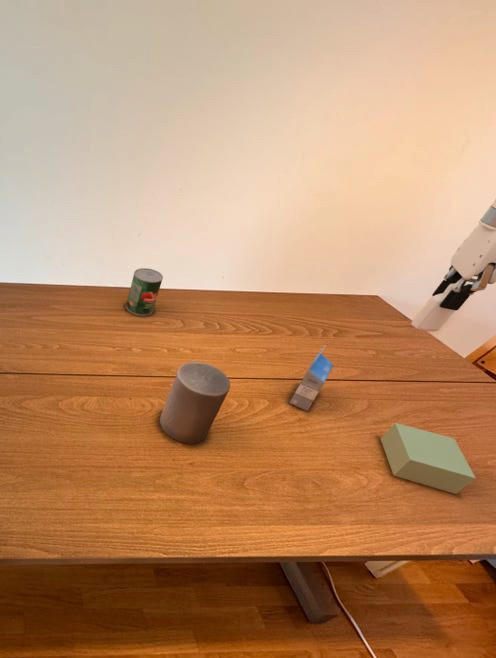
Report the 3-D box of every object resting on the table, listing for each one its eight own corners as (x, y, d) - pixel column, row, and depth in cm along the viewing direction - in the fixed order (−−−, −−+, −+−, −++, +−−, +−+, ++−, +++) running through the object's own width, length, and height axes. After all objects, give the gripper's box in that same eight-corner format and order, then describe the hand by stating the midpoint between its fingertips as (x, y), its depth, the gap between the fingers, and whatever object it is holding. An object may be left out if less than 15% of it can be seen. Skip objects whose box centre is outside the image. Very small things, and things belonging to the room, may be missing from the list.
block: (437, 454, 85) (454, 438, 82) (456, 494, 78) (476, 478, 75) (380, 438, 88) (395, 422, 85) (393, 475, 81) (410, 459, 77)
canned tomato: (147, 319, 119) (157, 284, 112) (121, 309, 122) (129, 275, 115) (156, 307, 125) (166, 273, 118) (131, 298, 128) (140, 265, 121)
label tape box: (306, 411, 93) (336, 369, 85) (287, 402, 95) (314, 360, 87) (316, 392, 98) (345, 351, 90) (298, 384, 100) (324, 343, 92)
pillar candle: (215, 442, 85) (244, 388, 76) (171, 446, 84) (194, 392, 74) (192, 407, 92) (216, 354, 83) (151, 411, 91) (170, 357, 81)
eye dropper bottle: (441, 336, 93) (481, 288, 85) (411, 328, 95) (447, 281, 87) (437, 326, 96) (475, 279, 89) (407, 319, 98) (442, 273, 90)
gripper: (558, 240, 73) (480, 327, 84) (513, 210, 85) (451, 289, 96) (504, 231, 75) (435, 317, 86) (468, 203, 87) (412, 282, 99)
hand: (444, 302), depth 91 cm, fingers closed on eye dropper bottle, 4 cm apart
